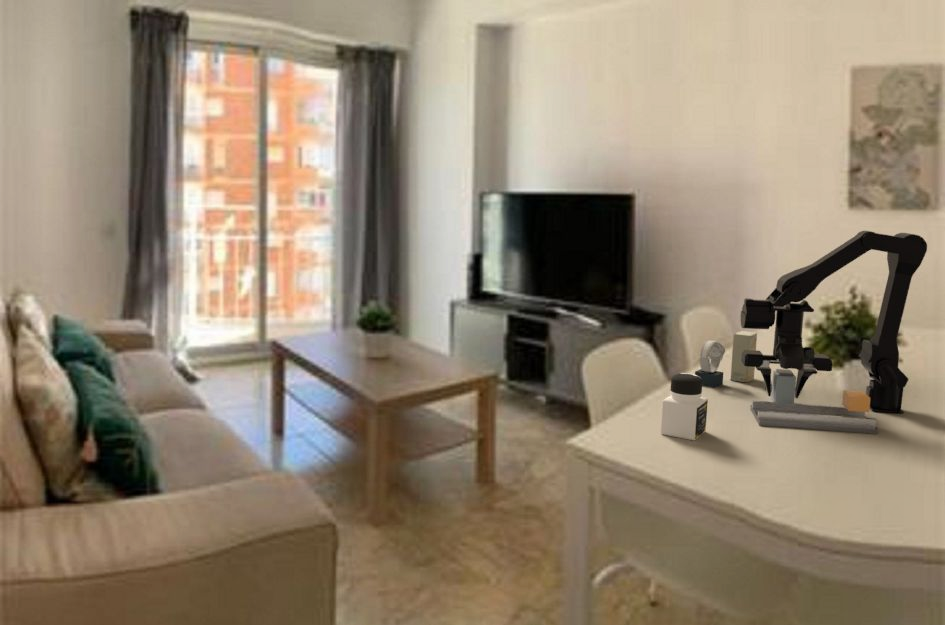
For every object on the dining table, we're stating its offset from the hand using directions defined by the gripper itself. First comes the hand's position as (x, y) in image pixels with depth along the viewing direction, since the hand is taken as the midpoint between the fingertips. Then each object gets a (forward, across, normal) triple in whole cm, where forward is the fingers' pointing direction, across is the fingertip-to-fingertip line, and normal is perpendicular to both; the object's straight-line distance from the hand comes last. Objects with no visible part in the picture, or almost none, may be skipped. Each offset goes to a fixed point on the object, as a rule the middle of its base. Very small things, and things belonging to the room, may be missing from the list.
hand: (782, 396), depth 182 cm
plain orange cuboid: (-2, +12, -13) cm, 18 cm away
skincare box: (+2, -6, +21) cm, 22 cm away
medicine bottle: (+2, -24, -28) cm, 37 cm away
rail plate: (+2, +4, -13) cm, 14 cm away
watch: (+2, -15, +14) cm, 21 cm away
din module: (+2, 0, 0) cm, 2 cm away
